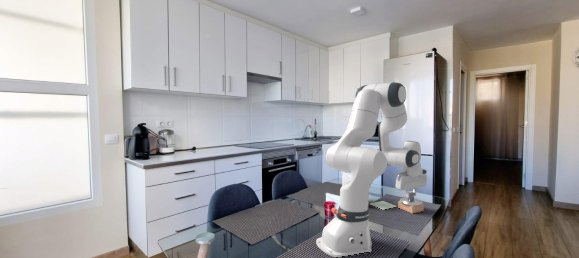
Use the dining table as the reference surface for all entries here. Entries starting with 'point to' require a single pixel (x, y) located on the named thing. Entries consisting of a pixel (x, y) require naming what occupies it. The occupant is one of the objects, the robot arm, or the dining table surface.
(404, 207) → the orange open box
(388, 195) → the dining table surface
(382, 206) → the mat
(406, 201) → the lid
